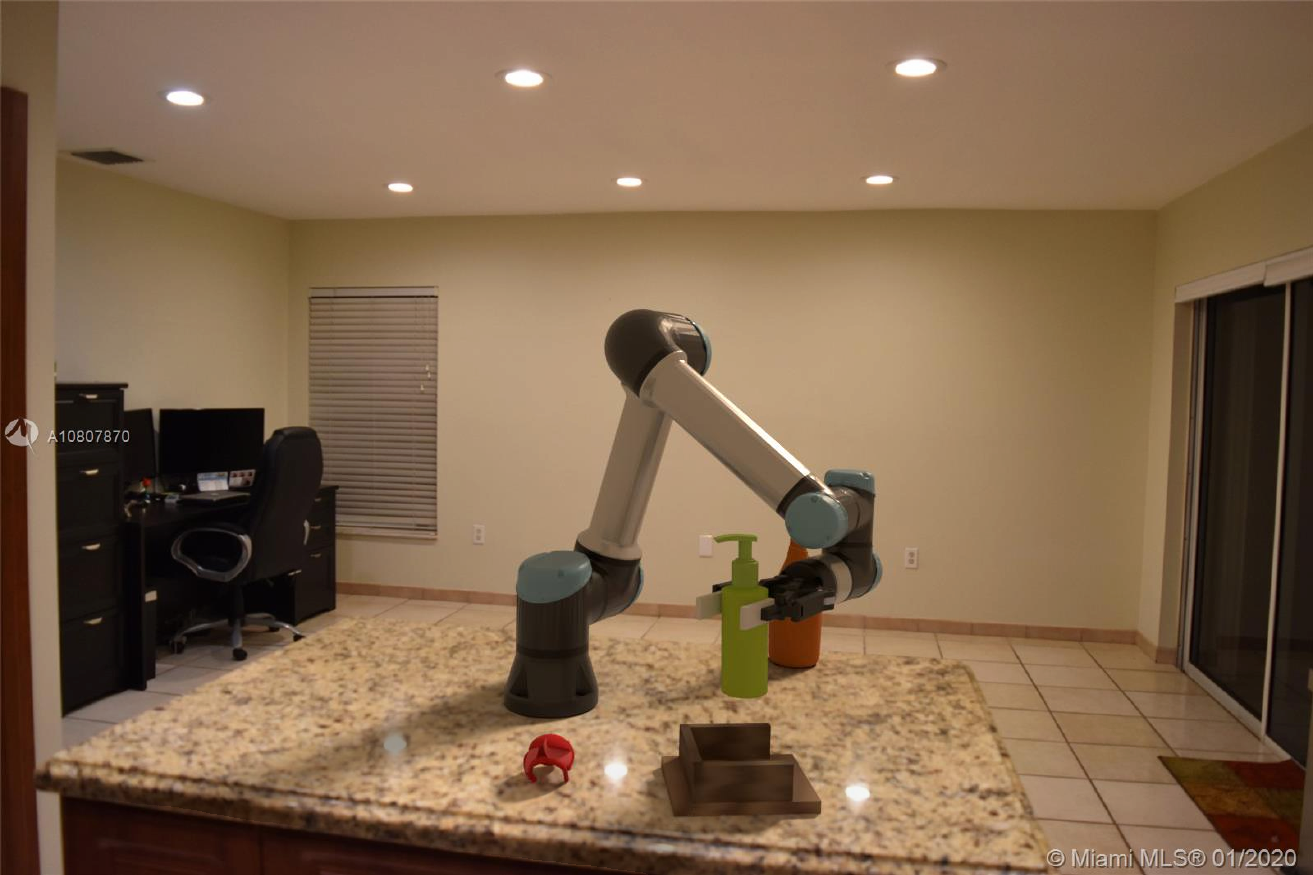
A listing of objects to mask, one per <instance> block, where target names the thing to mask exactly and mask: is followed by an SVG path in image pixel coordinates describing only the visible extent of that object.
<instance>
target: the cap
mask: <svg viewBox="0 0 1313 875" xmlns="http://www.w3.org/2000/svg"><path fill="white" fill-rule="evenodd" d="M575 754H576V753H575V751H574V748H573V745H572V744H571V742H570V740H567V739H566V738H565V737H563V736H561V735H559V734H557V733H556V734H555V733H545V734H541V735H538V736H537V737H536V738H534V739H533V740H532V741H531V742H530V744H529V746H528V751H527V752H526V753H525V755H524V756H523V759H522V760H523V761H522V765H523V766H522V767H523V770H524V774H525V776H526V777H527V779H528V781H530V782H531V783H532V784H536V783H537V782H538V777H537V776H536V775H535V774H534V768H535V767H536V766H540V765H542V766H545V767H554V766H555V767H557V768H559V769H560V770H561V772H562V775H563V781H564V782H565V783H568V782H569V781H570V777H569V772H570V771H571V769H572V766H573V764H574V761H575Z"/></svg>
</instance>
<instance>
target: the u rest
mask: <svg viewBox="0 0 1313 875" xmlns="http://www.w3.org/2000/svg"><path fill="white" fill-rule="evenodd" d="M771 734H772V726H771V724H770V722H745V723H744V722H733V723H732V722H729V723H728V722H726V723H719V722H718V723H679V734H678V736H679V738H678V740H679V741H678V755H661V762H660V763H661V765H660V768H661V771H662V775H663V779H664V783H665V787H666V791H667V796H668V798H669V802H670V807H671V810H672V811H671V812H672V814H673V817H674V818H675V817H712V816H713V817H714V816H715V817H716V816H718V817H719V816H720V817H722V816H723V817H724V816H762V815H801V814H803V815H804V814H809V815H810V814H822V799H821V798H820V797H819V795H818V793H817V792H816V789H815V788H814V787H813V785H812V783H811V782H810V779H809V778H808V777H807V775H806V773H805V772H804V770H803V769H802V767H801V765H800V764H799V762H798V761H797V758H795V756H794V754H793V753H771Z"/></svg>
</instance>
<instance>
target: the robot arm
mask: <svg viewBox="0 0 1313 875" xmlns="http://www.w3.org/2000/svg"><path fill="white" fill-rule="evenodd" d="M603 349H604V350H603V351H604V357H605V361H606V363H607V366H608V367H609V369H610V371H611V372H612V373H613V374H614V376H615V377H616V378H617V379H618V380H619V381H620V386H621V388H622V389H623V391H624V393H625V399H624V400H625V401H624V404H623V407H622V411H621V414H620V417H619V421H618V425H617V429H616V432H615V435H614V439H613V442H612V446H611V449H610V454H609V456H608V460H607V464H606V467H605V471H604V474H603V478H602V481H601V485H600V488H599V492H598V495H597V498H596V502H595V506H594V508H593V509H594V510H593V513H592V516H591V520H590V523H589V526H588V528H586V529H584V530H582V531H580V532H579V533H578V534H577V537H576V540H575V544H574V546H573V549H572V550H552V551H550V552H541V553H540V552H539V553H536V554H534V555H531V556H528V557H527V558H525V559H524V560H523V561H522V562H521V563H520V565H519V567H518V570H517V578H516V584H515V592H516V613H515V614H516V615H515V616H516V618H515V619H516V620H515V621H516V623H515V624H516V625H515V626H516V627H515V629H516V630H515V631H516V633H515V642H516V643H515V656H514V658H513V662H512V665H511V667H510V670H509V674H508V676H507V679H506V681H505V685H504V688H503V704H504V706H505V708H507V709H508V710H510V711H512V712H514V713H517V714H520V715H524V716H527V717H528V716H529V717H536V718H562V717H570V716H571V717H572V716H575V715H580V714H583V713H586V712H588V711H590V710H593V709H594V708H595V707H596V706H597V705H598V703H599V697H600V696H599V692H600V690H599V684H598V681H597V677H596V674H595V671H594V667H593V664H592V660H591V657H590V650H589V648H590V644H589V643H590V642H589V641H590V626H591V625H593V624H596V623H599V622H602V621H603V620H606V619H609V618H612V617H615V616H617V615H620V614H622V613H623V612H625V611H626V610H627V609H628V608H630V607H631V606H632V605H634V604H635V602H636V601H637V600H638V598H639V597H640V595H641V593H642V591H643V587H644V581H645V575H644V574H645V573H644V569H643V568H642V565H641V564H642V562H641V560H642V556H643V550H642V549H641V547H640V545H639V544H638V539H639V536H640V533H641V529H642V526H643V522H644V519H645V515H646V512H647V509H648V505H649V502H650V498H651V494H652V492H653V488H654V485H655V482H656V479H657V474H658V472H659V469H660V464H661V461H662V459H663V455H664V451H665V448H666V444H667V441H668V438H669V435H670V432H671V427H672V425H673V422H675V423H676V424H677V425H678V426H679V427H681V428H682V429H683V430H684V431H685V432H686V433H687V434H688V435H689V436H691V437H692V438H693V439H694V440H695V441H696V442H697V443H699V445H701V447H703V448H704V449H705V450H706V451H708V453H710V454H711V455H712V456H713V457H714V458H715V459H716V460H717V461H718V462H719V463H721V465H723V466H724V467H725V468H726V469H727V470H728V471H729V472H730V473H732V474H733V475H734V476H735V477H736V478H737V480H738V479H739V481H740V482H742V483H743V484H744V485H745V486H746V487H747V488H748V489H750V491H752V492H753V493H754V494H755V495H756V496H757V497H758V498H759V499H761V501H762V502H764V503H765V504H766V505H767V506H768V507H769V508H770V509H771V510H773V511H774V512H775V513H776V514H778V516H779V517H781V518H782V519H783V521H784V525H785V529H786V532H787V533H788V535H789V537H790V538H791V539H792V540H793V541H794V542H795V543H797V544H798V545H800V546H802V547H804V548H807V550H819V549H821V551H820V552H821V553H820V554H816V555H813V556H812V555H811V556H809V558H806V559H802V560H799V561H795V562H792V563H790V564H788V565H787V566H786V567H785V568H784V569H783V570H782V572H781V574H780V575H778V574H777V575H774V576H773V577H768V578H761V579H759V580H758V585H759V586H763V587H765V588H767V589H768V599H764V600H761V601H758V602H755V603H752V604H749V605H745V606H742V607H741V610H740V629H741V630H748V629H750V628H753V627H756V626H759V625H762V624H765V623H767V622H768V623H769V622H770V621H773V620H775V619H777V620H780V621H782V620H785V619H786V618H787V617H791V621H793V622H800V621H802V620H805V619H807V618H809V617H811V616H814V615H816V614H818V613H821V612H822V613H823V612H825V611H826V612H827V611H832V610H834V609H835V606H837V605H839V604H842V603H844V602H847V601H850V600H854V599H855V600H856V599H860V598H861V597H863V596H864V595H867V594H868V593H870V592H872V591H873V590H874V589H876V587H877V586H878V585H879V584H880V582H881V580H882V578H883V571H884V570H883V564H882V562H881V560H880V558H879V555H878V554H877V553H876V552H875V551H874V545H873V536H874V535H873V534H874V520H875V519H874V518H875V516H874V515H875V514H874V513H875V499H876V497H877V493H876V492H875V491H876V488H875V485H876V484H875V475H874V474H873V473H871V471H866V470H860V469H850V468H849V469H845V468H838V469H837V468H836V469H835V468H834V469H828V470H826V472H825V473H824V476H823V481H822V480H821V479H820V478H819V477H817V476H816V475H815V474H814V473H813V472H812V470H810V469H809V468H808V467H807V466H806V465H804V464H803V463H802V462H801V461H800V460H798V459H797V457H795V456H794V455H793V454H792V453H791V452H789V451H788V450H787V449H786V448H784V446H782V445H781V444H780V443H779V442H778V441H777V440H775V439H774V438H773V437H772V436H771V435H770V434H768V432H767V431H765V430H764V429H763V428H762V427H761V426H759V425H758V424H757V423H756V422H755V421H754V420H752V419H751V418H750V417H749V416H748V415H747V414H746V413H744V412H743V411H742V410H741V409H740V408H739V407H738V406H736V404H734V403H733V402H732V401H731V400H729V399H728V397H727V396H725V395H724V394H722V393H721V392H720V391H719V390H718V389H717V388H716V387H715V386H714V385H713V384H711V383H710V382H709V381H708V380H707V379H705V378H704V376H705V375H706V373H707V372H708V370H709V368H710V367H711V363H712V355H713V353H712V350H713V348H712V344H711V340H710V338H709V336H708V334H707V332H706V331H705V329H704V328H703V326H702V325H700V324H699V323H698V322H697V321H695V320H693V319H691V318H689V317H687V316H684V315H683V314H678V313H675V312H674V313H673V312H667V311H665V312H664V311H658V310H652V309H646V308H637V309H632V310H629V311H626V312H625V313H622V314H621V315H620V316H618V317H617V318H616V319H615V320H614V321H613V322H612V323H611V325H610V326H609V328H608V330H607V331H606V335H605V338H604V344H603ZM728 585H732V580H729V581H725V582H719V583H717V584H716V583H715V584H712V589H711V590H712V591H711V592H710V593H707V594H704V595H701V596H696V597H695V617H694V618H695V620H698V621H702V620H705V619H708V618H711V617H714V616H718V615H722V588H723V587H725V586H728Z"/></svg>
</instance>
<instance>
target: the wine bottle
mask: <svg viewBox="0 0 1313 875" xmlns="http://www.w3.org/2000/svg"><path fill="white" fill-rule="evenodd" d="M789 540H790V541H789V545H788V549H787V552H786V558H785V560H784V562H783V563H782V565H781V568H780V570H779V572H778V574H777V575H780V574H781V572H782V570H783V569H784V568H785V567H786V566H787V565H788V564H790V563H792V562H795V561H799V560H802V559H806V558H809V557H810V555H809V552H808V548H804V547H802V546H800V545H798V544H797V543H795V542H794V541H793V540H792V539H791V537H790V539H789ZM822 620H823V612H821V613H818V614H816V615H814V616H811V617H809V618H807V619H805V620H802V621H800V622H793V621H791V617H787V618H786V619H785V620H782V621H780V620H777V619H775V620H773V621H770V622H768V659H769V660H770V661H771V662H772V663H774V664H777V665H779V666H782V667H787V668H794V669H795V668H796V669H797V668H798V669H799V668H800V669H802V668H809V667H813V666H814V665H817V663H818V662H819V660H820V654H821V653H820V652H821V642H822V641H821V640H822V639H821V638H822V625H823V624H822V622H823V621H822Z"/></svg>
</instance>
